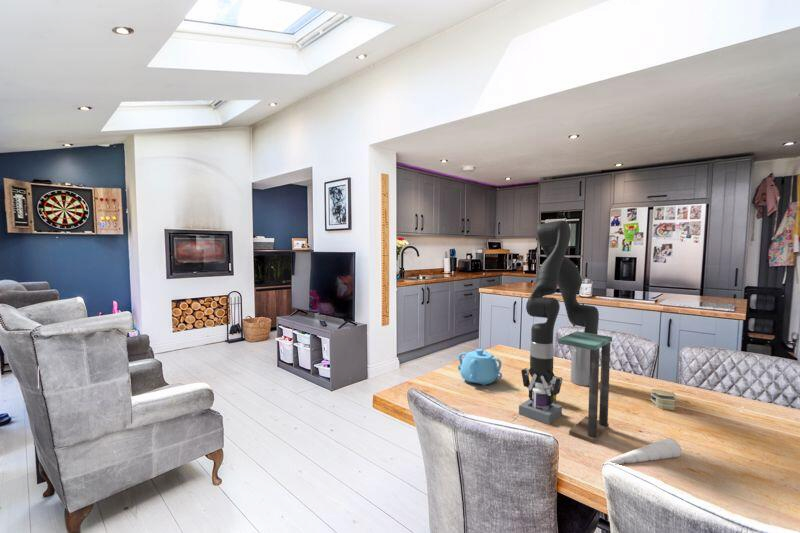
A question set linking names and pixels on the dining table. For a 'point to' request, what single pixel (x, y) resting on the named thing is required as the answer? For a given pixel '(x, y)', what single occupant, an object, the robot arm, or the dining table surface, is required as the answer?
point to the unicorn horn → (650, 452)
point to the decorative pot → (479, 367)
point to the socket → (540, 412)
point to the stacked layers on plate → (663, 399)
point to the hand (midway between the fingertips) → (540, 402)
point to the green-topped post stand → (593, 383)
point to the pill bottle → (539, 397)
